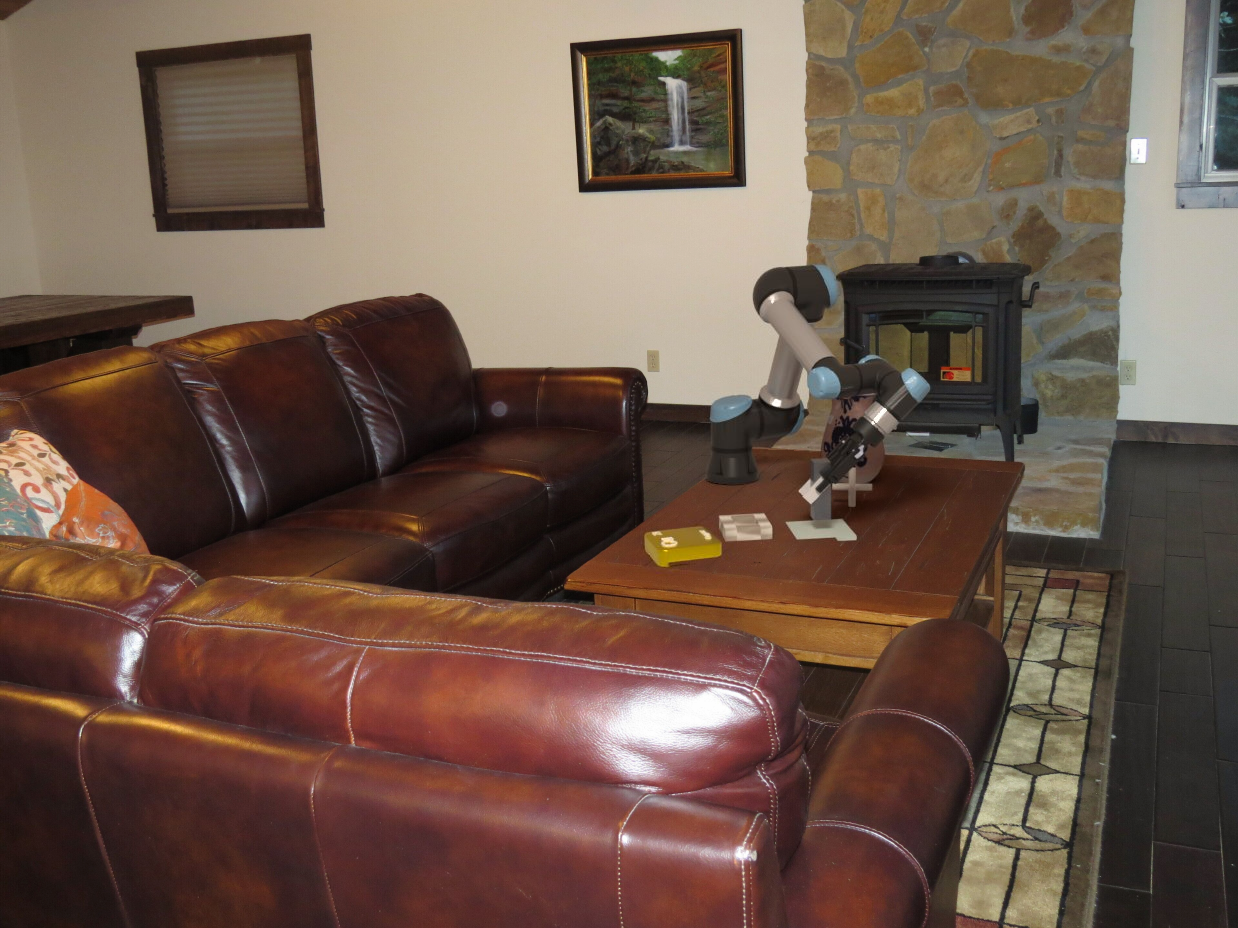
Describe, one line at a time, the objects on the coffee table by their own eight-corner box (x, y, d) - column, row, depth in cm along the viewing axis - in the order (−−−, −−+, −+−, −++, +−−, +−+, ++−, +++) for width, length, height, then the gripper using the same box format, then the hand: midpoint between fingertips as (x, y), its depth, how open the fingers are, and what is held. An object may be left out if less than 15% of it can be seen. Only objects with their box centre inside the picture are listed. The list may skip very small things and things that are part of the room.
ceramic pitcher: (814, 487, 309) (813, 397, 303) (830, 468, 328) (830, 384, 322) (878, 491, 303) (879, 399, 297) (891, 472, 321) (892, 385, 316)
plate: (785, 525, 276) (785, 521, 275) (842, 522, 276) (842, 518, 276) (796, 543, 262) (796, 539, 262) (856, 539, 262) (856, 535, 262)
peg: (810, 515, 270) (810, 459, 266) (827, 514, 270) (827, 458, 267) (814, 520, 266) (813, 462, 263) (831, 519, 266) (831, 462, 263)
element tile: (724, 561, 253) (723, 541, 252) (660, 569, 249) (659, 548, 248) (704, 542, 267) (703, 523, 266) (643, 549, 264) (642, 530, 263)
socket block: (719, 531, 273) (718, 515, 273) (764, 528, 274) (764, 513, 273) (725, 545, 263) (725, 528, 262) (772, 542, 263) (772, 526, 262)
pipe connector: (872, 511, 284) (872, 473, 282) (831, 511, 286) (832, 473, 284) (871, 500, 294) (872, 463, 291) (832, 500, 296) (832, 463, 293)
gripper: (895, 443, 256) (823, 517, 259) (875, 428, 272) (808, 498, 276) (873, 422, 254) (800, 496, 258) (854, 408, 271) (786, 478, 274)
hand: (804, 497), depth 267 cm, fingers closed on peg, 4 cm apart
